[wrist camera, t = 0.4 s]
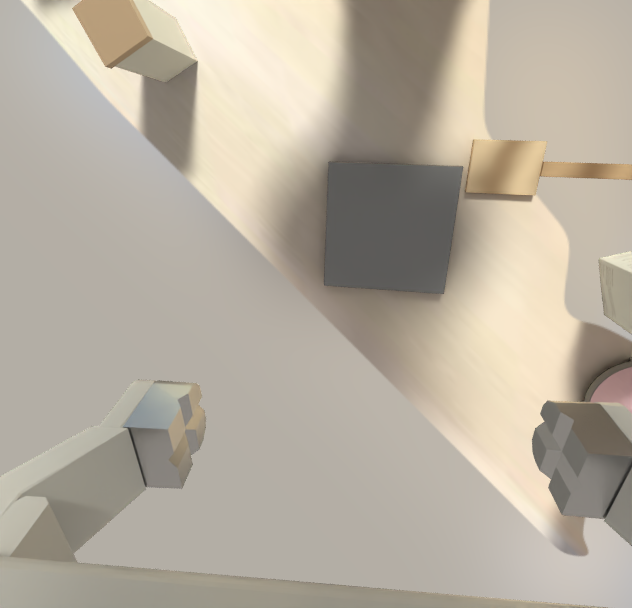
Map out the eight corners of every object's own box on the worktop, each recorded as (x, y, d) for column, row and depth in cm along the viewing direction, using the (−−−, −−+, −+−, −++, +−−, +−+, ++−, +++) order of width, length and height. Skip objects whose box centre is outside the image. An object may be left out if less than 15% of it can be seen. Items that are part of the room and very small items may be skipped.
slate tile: (329, 161, 51) (328, 161, 49) (460, 166, 49) (463, 166, 47) (325, 282, 56) (324, 285, 55) (442, 290, 55) (443, 293, 53)
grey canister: (141, 40, 49) (72, 8, 38) (176, 15, 47) (115, -26, 36) (165, 85, 50) (105, 66, 39) (199, 62, 49) (148, 35, 38)
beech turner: (657, 144, 45) (664, 144, 44) (640, 199, 47) (646, 200, 46) (473, 139, 48) (475, 139, 47) (464, 191, 50) (466, 192, 49)
